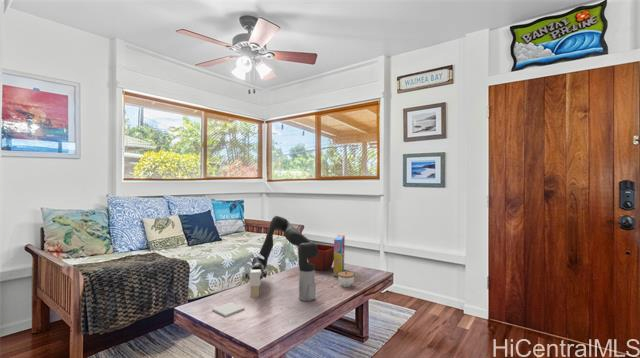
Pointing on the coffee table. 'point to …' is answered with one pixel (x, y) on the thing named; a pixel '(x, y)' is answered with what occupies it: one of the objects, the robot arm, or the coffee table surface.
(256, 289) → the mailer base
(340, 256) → the game box
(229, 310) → the grey mat
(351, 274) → the lidded jar
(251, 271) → the white rectangular block
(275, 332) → the coffee table surface
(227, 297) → the coffee table surface
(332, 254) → the plant pot
